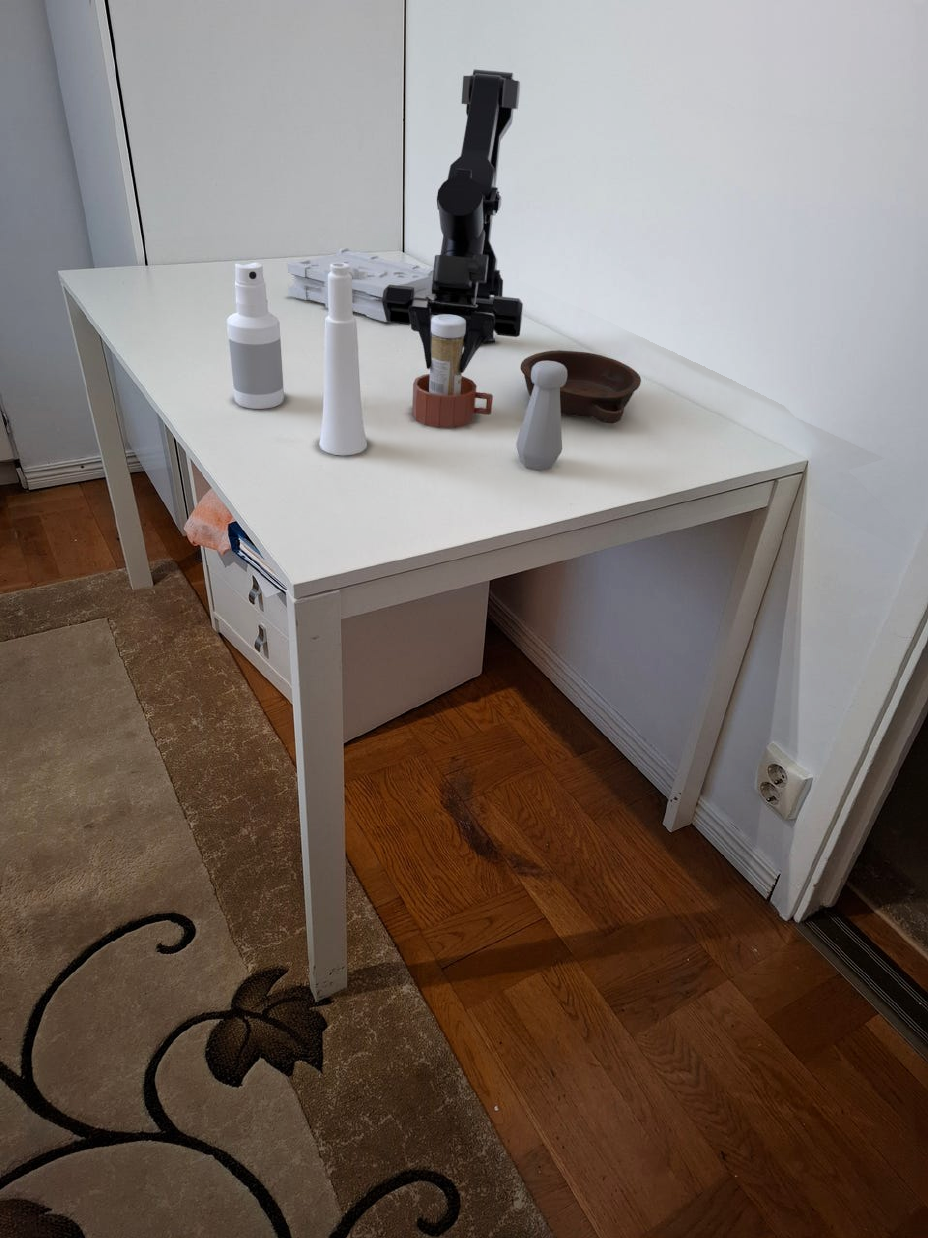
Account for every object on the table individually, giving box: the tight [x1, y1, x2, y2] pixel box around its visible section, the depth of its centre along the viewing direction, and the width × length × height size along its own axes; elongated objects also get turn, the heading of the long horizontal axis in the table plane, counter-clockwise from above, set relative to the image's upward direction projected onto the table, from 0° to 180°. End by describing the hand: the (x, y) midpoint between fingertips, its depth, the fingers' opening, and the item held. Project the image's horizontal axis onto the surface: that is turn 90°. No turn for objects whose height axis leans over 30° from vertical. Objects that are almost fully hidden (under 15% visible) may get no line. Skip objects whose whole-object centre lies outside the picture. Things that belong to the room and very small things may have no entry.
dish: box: [519, 349, 642, 424], centre depth 122 cm, size 18×22×5 cm
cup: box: [411, 373, 494, 429], centre depth 114 cm, size 11×9×4 cm
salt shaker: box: [515, 361, 567, 472], centre depth 102 cm, size 6×6×13 cm
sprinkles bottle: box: [429, 314, 466, 395], centre depth 112 cm, size 5×5×14 cm
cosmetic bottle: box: [318, 263, 368, 456], centre depth 99 cm, size 6×6×22 cm
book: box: [287, 247, 434, 323], centre depth 155 cm, size 19×28×8 cm
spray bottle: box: [226, 261, 285, 410], centre depth 110 cm, size 7×7×18 cm
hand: (444, 369), depth 110 cm, fingers closed on sprinkles bottle, 4 cm apart
